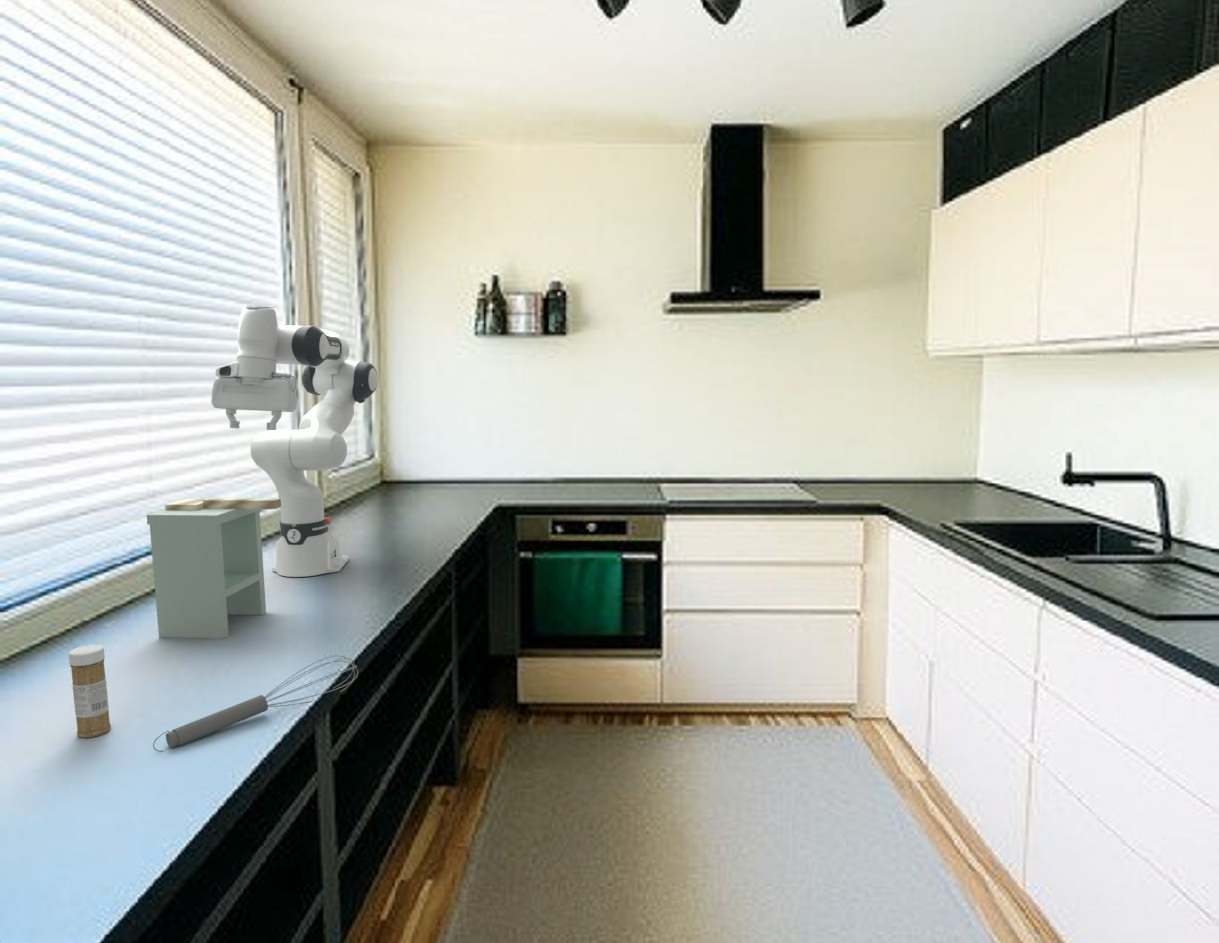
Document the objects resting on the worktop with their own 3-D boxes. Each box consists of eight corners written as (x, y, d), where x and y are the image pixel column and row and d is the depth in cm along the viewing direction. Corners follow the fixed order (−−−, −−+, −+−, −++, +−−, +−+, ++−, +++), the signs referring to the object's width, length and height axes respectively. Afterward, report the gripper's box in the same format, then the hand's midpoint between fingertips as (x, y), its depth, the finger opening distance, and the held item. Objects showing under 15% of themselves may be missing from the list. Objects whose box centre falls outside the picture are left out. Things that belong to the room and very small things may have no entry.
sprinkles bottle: (106, 723, 129) (98, 641, 127) (115, 731, 126) (107, 648, 124) (72, 732, 125) (64, 649, 124) (81, 741, 122) (72, 656, 121)
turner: (165, 510, 171) (164, 501, 171) (184, 504, 178) (184, 496, 178) (270, 510, 170) (270, 502, 169) (286, 505, 177) (285, 497, 176)
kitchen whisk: (145, 748, 121) (142, 708, 120) (346, 681, 146) (344, 647, 146) (162, 761, 117) (159, 719, 116) (366, 689, 143) (364, 655, 142)
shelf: (205, 611, 187) (197, 500, 184) (268, 612, 186) (261, 500, 183) (156, 637, 169) (146, 514, 166) (225, 638, 168) (216, 515, 165)
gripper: (303, 375, 197) (300, 432, 197) (225, 372, 199) (221, 428, 199) (289, 371, 190) (286, 430, 190) (209, 368, 193) (205, 426, 193)
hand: (252, 429), depth 195 cm, fingers open, 8 cm apart
